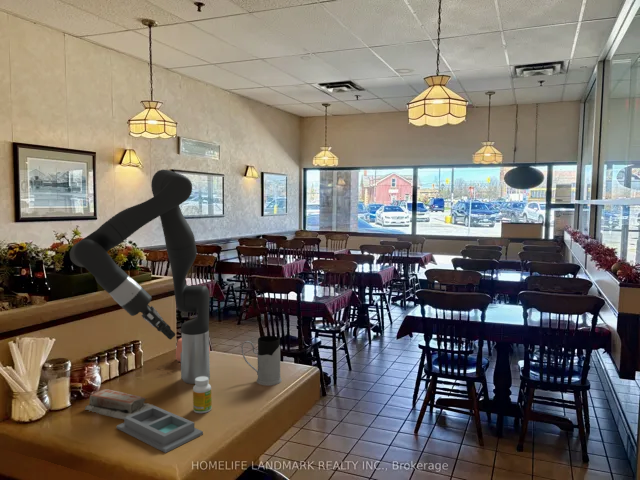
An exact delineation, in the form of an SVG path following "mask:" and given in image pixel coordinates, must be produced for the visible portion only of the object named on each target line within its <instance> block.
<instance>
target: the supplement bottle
mask: <svg viewBox="0 0 640 480" xmlns="http://www.w3.org/2000/svg"><path fill="white" fill-rule="evenodd" d="M209 381H210V379H209V378H208V377H205V376H201V377H197V378H196V379H195V385H193V387H192V408H193V412H194V413H195V414H206V413H209V412H210V411H211V410H212V408H213V407H212V406H213V405H212V402H213V401H212V399H213V398H212V386H211V384H210V383H209Z"/></svg>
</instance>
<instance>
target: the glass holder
mask: <svg viewBox="0 0 640 480" xmlns="http://www.w3.org/2000/svg"><path fill="white" fill-rule="evenodd" d="M245 343H249V344H250V345H251V346H252V351H253V353H254V354H255V355H257V369H256V367H255V366H253V365H252V364H251V363H250V362H249V361H248V360H247V358H246V356H245V354H244V344H245ZM241 354H242V357H243V359H244V362H245V363H246V364H247V365H248V366H250V367H251V368H252V369H253V370H254V371H255V372H256V373H257V374H256V375H257V379H256V383H257V384H258V385H260V386H276V385H278V384H280V383H282V381H283V380H282V378H281V345H280V337H279V336H276V335H263V336H259V337H258V338H257V352H256V351H255V346H254V343H253V342H252V341H249V340H246V341H244V342H242V344H241Z"/></svg>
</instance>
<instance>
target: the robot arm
mask: <svg viewBox="0 0 640 480" xmlns="http://www.w3.org/2000/svg"><path fill="white" fill-rule="evenodd" d="M150 186H151V192H152V196H153V197H151V198H149V199H146V200H145V201H143V202H141V203H139V204H135V205H133V206H130V207H127V208H125V209H122V210H121V211H119V212H117V213H116V214H114V215H113V216H111V218H109V219H108V220H107V221H105V222H103V224H101V225H100V226H99V227H98V228H97V229H95V231H93V232H91V233H90V234H88V235H87V236H85V237H84V238H82V239H81V240H79V241H77V242H76V243H75V244H73V246H72V247H71V249H70V252H69V259H70V261H71V262H72V263H73V264H74V265H75V266H77V267H80V268H85V269H86V270H87V271H88V272H89V273H90V274H91V275H92V276H93V277H94V279H95V282H96V283H97V284H98V285H99V286H100V287H101V288H102V289H103V290H104V291H106V293H107V294H108V295H110V296H111V297H112V299H113V301H114V302H116V303H117V304H118V305H119V306H120V307H121V308H122V309H123V310H125V312H126V313H127V314H129V315H130V317H134V316H137V315H138V314H139V313H141V318H142V319H143V320H144V321H146V322H147V323H148V324H149V325H151V327H153V328H155V329H156V331H158V332H161V333H162V334H163V335H164V336H165V337H166V338H167V339H168V340H172V339H173V338H174V337H176V333H175V331H174V330H172V328H171V326H170V325H169V324H168V323H167V322H166V321H165V320H164V318H163V317H162V315H160V314H161V313H159V312H158V311H157V310H156V308H155V307H154V306H153V305H151V306H150V305H149V304H150V302H151V301H152V299H153V298H152V295H150V294H149V292H148V291H147V290H145V289H144V287H143V286H141V285H140V284H139V283H138V282H137V281H136V280H135V279H133V278H132V277H131V276H130V275H128V273H127V272H125V270H123V269H122V268H121V267H120V266H119V265H118V264H117V263H116V262H115V260H113V258H112V257H111V255H110V254H109V253H108V252H109V251H110V250H112V248H115V247H117V246H119V245H120V244H122V243H123V242H125V240H127V239H128V238H129V237H131V236H132V235H134V234H135V233H136V232H137V231H138V230H140V229H141V228H142V227H144V226H145V225H147V224H149V223H151V222H152V221H154V220H155V219H156V218H160V222H161V227H162V233H163V237H164V242H165V247H166V252H167V253H166V254H167V256H168V260H169V264H170V269H171V275H172V276H171V277H172V283H173V289H174V297H175V298H174V300H175V305H176V308H177V309H178V311H179V312H182V313H196V315H197V316H196V317H195V318H192V319H189V320H187V321H185V322H183V323H182V324H181V330H180V331H181V338H182V352H181V362H180V376H181V377H180V378H181V379H182V381H183V382H184V383H185V384H190V385H191V384H192V385H194V384H195V379H196V378H197V377H201V376H205V377H208V378H209V380H210V377H211V371H210V369H211V368H210V365H211V364H210V362H211V361H210V354H209V346H210V332H209V331H210V328H209V326H210V324H209V323H210V290H209V288H208V286H206V285H188V284H187V281H186V278H187V275H188V273H189V270H190V269H191V267H192V266H193V264H194V262H195V260H196V257H197V254H198V251H197V246H196V238H195V236H194V232H193V230H192V228H191V226H190V225H189V223H188V221H187V220H186V218H185V216H184V213H183V212H182V210H181V207H180V205H182V204H184V203H185V202H186V201H187V200H188V199H189V198H190V196H191V195H192V192H193V183H192V181H191V180H190V178H189V177H187V176H185V175H184V174H181V173H179V172H176V171H172V170H170V169H159V170H158V171H156V172H155V173H154V175H153V176H152V179H151V185H150ZM195 385H196V384H195Z"/></svg>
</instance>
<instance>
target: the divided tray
mask: <svg viewBox="0 0 640 480" xmlns="http://www.w3.org/2000/svg"><path fill="white" fill-rule="evenodd" d="M123 420H124V421H123V422H122V423H119V424H117V425H116V429H117V430H119V431H121V432H123V433H125V434H127V435H129V436H131V437H133V438H135V439H138V440H139V441H141V442H143V443H145V444H147V445H149V446H151V447H152V448H154V449H157V450H159V451H161V452H162V453H164V454H166V453H168V452H171V451H172V450H174V449H177V448H178V447H180V446H182V445H185V444H186V443H188V442H191V441H192V440H194V439H196V438H199V437H200V436H203V434H204V430H203V431H202V430H201V429H199V428H196V427H195V422H194V421H191V420H189V419H186V418H184V417H182V416H179V415H178V414H175V413H173V412H171V411H167V410H165V409H163V408H161V407H158V406H156V405H153V406H152V407H150V408H147V409H145V410H142V411H140V412H137V413H135V414H132V415H130V416H127V417H125V418H124V419H123Z"/></svg>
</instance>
